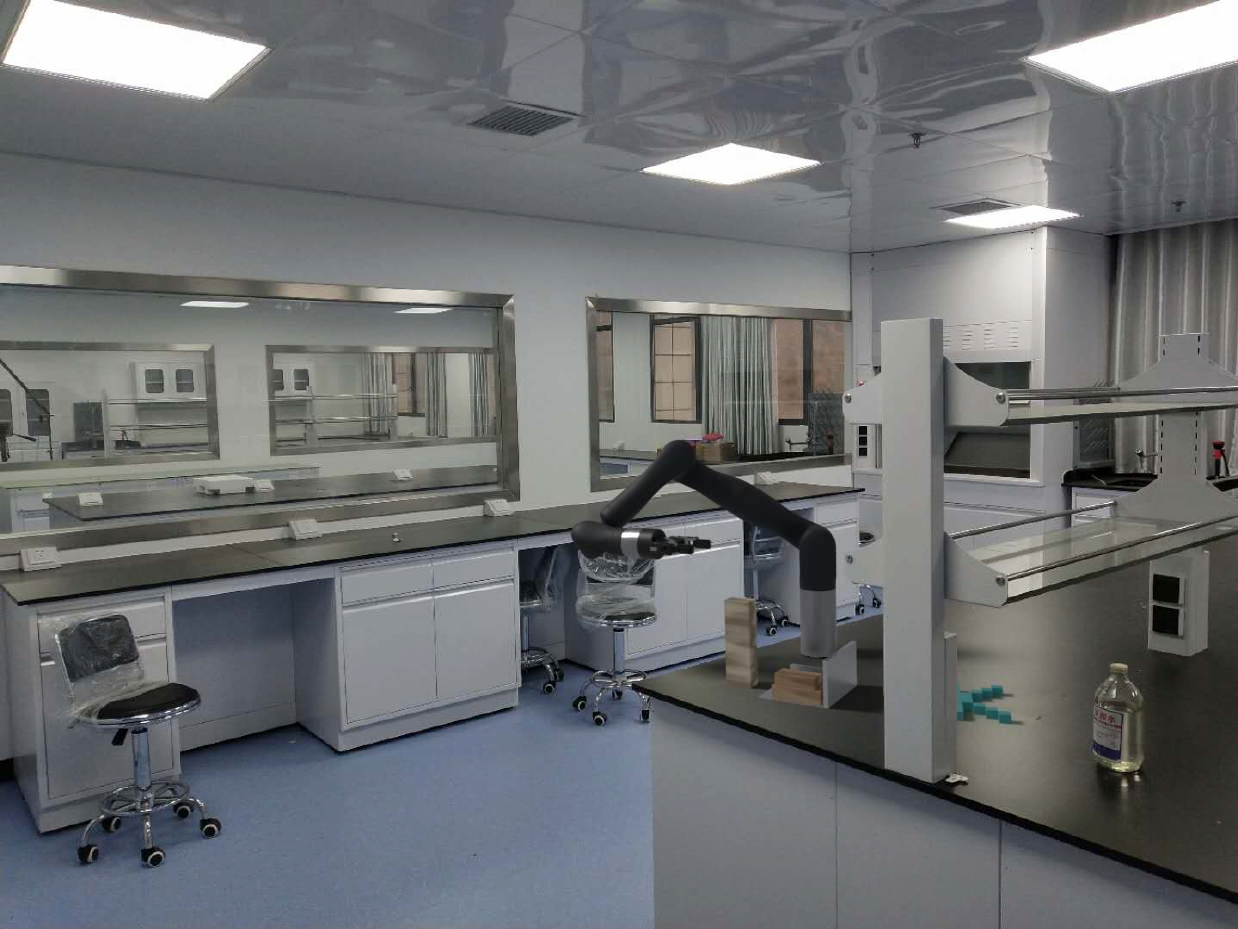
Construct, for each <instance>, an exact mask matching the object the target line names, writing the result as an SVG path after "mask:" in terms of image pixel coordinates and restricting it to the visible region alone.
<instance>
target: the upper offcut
mask: <svg viewBox="0 0 1238 929" xmlns="http://www.w3.org/2000/svg"><path fill="white" fill-rule="evenodd" d="M773 682H774V683H775V685H779V686H786V687H793V688H799V689H806V690H813V691H814V690H815V689H817V688H818V687H820V686H821V685H822V674H821V673H814V672H807V671H800V670H792V669H790V668H784V667H783V668H780V669H778V670H777V671H776V672H774V681H773Z"/></svg>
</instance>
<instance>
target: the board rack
mask: <svg viewBox="0 0 1238 929" xmlns="http://www.w3.org/2000/svg"><path fill="white" fill-rule="evenodd" d="M857 664H858V663H857V640H850V641H849V642H848V643H846V644H845V645H843V646H842V647H840V648H839V649H837V651H836V652H834V653H833V654H831V655H830V656H828V657H827V658H823V659H822V667H820V666H814V665H813V666H812V665H805V664H799V663H791V664H790V665H789V669H792V670H800V671H807V672H814V673H821V674H822V685H823V702H822V703H821V704H818V703H812V702H805V701H799V700H793V699H786V698H780V697H774V696H772V687H771V688H769V689H768V690H766V691H764V692H763V693H762V694H760V695H759V696H757V698H759V699H766V700H771V701H779V702H785V703H790V704H796V705H797V704H798V705H801V706H803V705H804V706H808V707H810V706H811V707H815V708H816V707H817V708H821V709H823V708H824V709H830V708H831V707H832V706H833V705H835V703H838V701H839V700H840V699H842V698H844V696H846V695H847V694H848V693H850V692H851V691H852V690H853V689H854V688H856V687H857V686H858V674H857V673H858V670H857V669H858V667H857Z"/></svg>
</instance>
